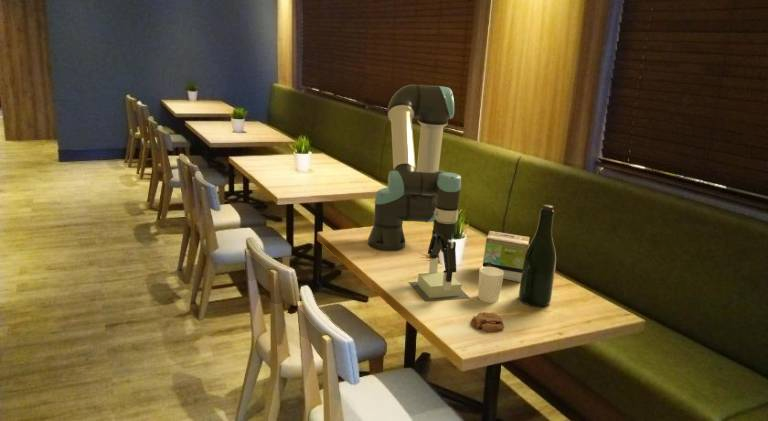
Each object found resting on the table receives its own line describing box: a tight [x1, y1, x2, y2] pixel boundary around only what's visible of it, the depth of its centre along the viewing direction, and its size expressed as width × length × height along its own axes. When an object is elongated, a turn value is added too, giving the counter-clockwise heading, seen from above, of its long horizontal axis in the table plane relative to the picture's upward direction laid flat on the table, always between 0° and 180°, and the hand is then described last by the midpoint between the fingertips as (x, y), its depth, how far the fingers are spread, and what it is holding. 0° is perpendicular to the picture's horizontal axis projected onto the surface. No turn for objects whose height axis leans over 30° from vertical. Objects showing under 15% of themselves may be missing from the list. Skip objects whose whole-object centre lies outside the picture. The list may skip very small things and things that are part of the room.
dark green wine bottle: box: [518, 204, 557, 308], centre depth 199 cm, size 10×10×33 cm
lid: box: [417, 271, 462, 298], centre depth 205 cm, size 11×11×4 cm
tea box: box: [482, 230, 530, 283], centre depth 222 cm, size 15×10×15 cm, turn 74°
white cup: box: [477, 266, 504, 304], centre depth 201 cm, size 8×8×10 cm
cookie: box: [470, 312, 505, 333], centre depth 184 cm, size 10×11×3 cm
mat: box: [407, 281, 471, 303], centre depth 206 cm, size 16×16×1 cm
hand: (439, 283), depth 205 cm, fingers closed on lid, 11 cm apart
